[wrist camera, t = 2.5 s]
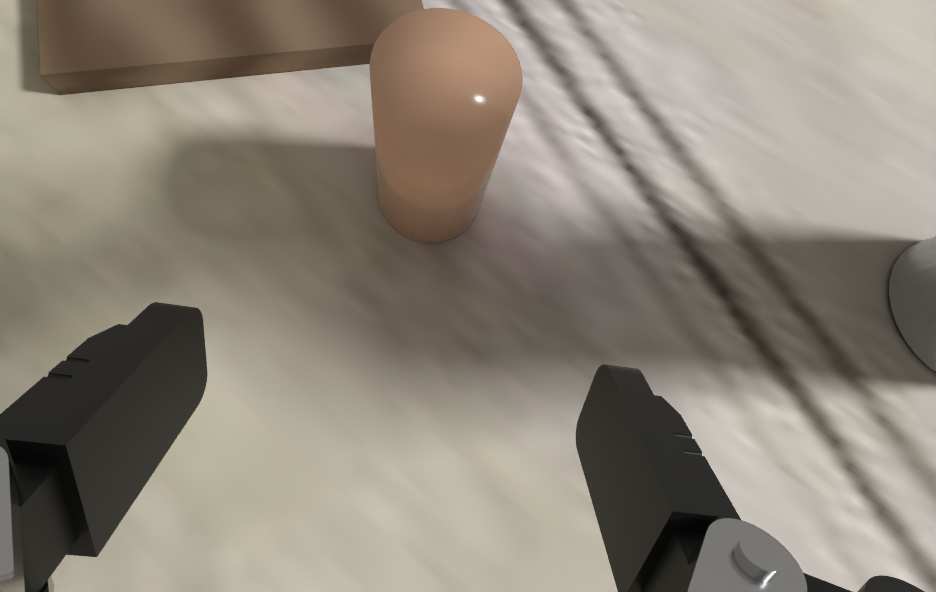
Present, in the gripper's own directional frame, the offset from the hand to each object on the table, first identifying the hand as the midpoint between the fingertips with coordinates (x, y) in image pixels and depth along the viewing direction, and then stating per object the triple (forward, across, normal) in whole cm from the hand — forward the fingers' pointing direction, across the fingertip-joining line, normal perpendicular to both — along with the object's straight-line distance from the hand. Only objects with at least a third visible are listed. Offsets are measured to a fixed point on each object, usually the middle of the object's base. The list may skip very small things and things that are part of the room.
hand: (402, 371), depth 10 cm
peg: (+19, 0, +2) cm, 19 cm away
